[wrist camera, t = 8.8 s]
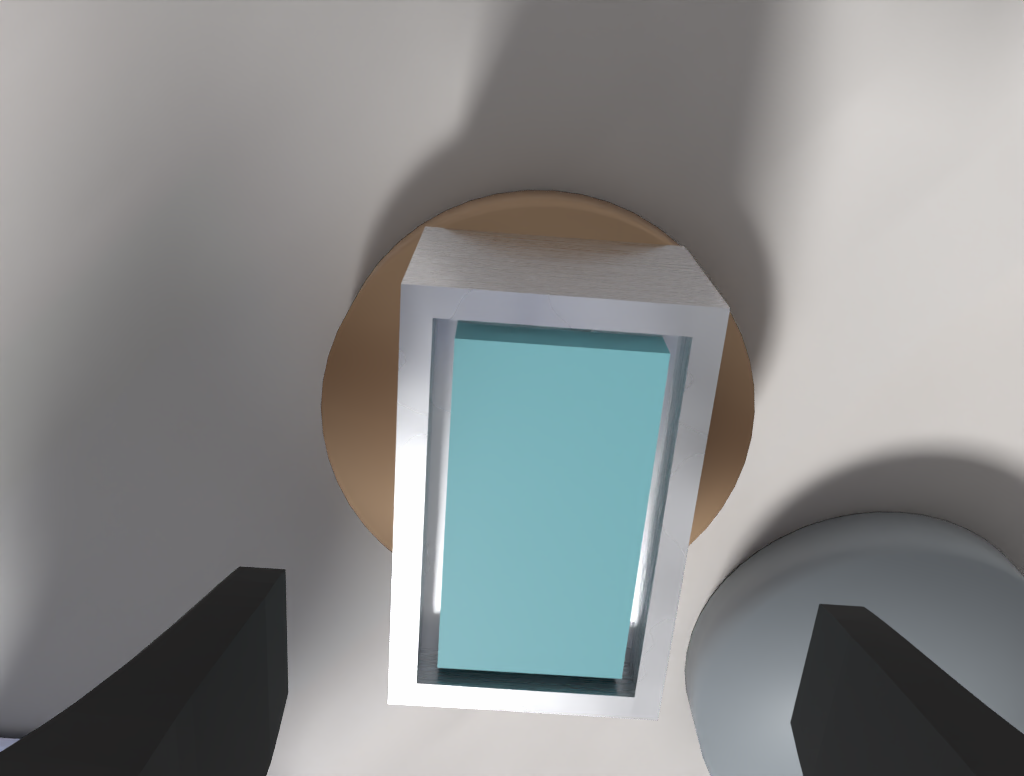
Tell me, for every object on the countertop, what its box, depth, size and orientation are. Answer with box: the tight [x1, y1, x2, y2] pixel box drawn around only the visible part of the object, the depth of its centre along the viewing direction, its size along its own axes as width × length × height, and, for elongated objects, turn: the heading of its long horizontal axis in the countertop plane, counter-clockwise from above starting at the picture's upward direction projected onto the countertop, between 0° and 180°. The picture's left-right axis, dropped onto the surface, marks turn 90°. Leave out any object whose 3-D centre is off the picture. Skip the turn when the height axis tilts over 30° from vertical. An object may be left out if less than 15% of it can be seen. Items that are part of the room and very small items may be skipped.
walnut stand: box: [321, 190, 755, 553], centre depth 20 cm, size 9×9×2 cm
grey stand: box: [685, 512, 1024, 776], centre depth 23 cm, size 9×9×2 cm
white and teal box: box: [388, 226, 730, 720], centre depth 17 cm, size 8×5×4 cm, turn 176°
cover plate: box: [437, 323, 670, 679], centre depth 16 cm, size 6×3×1 cm, turn 176°
